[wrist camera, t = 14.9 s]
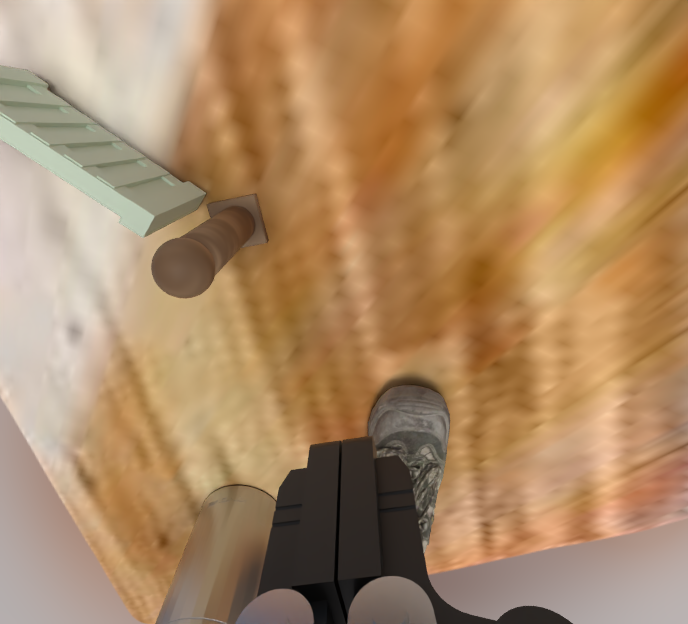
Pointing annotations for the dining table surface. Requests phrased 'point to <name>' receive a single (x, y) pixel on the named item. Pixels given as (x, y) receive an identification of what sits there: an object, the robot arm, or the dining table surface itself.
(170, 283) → the hinge post
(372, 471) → the robot arm
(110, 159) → the gate
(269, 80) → the dining table surface
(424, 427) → the hiking shoe
